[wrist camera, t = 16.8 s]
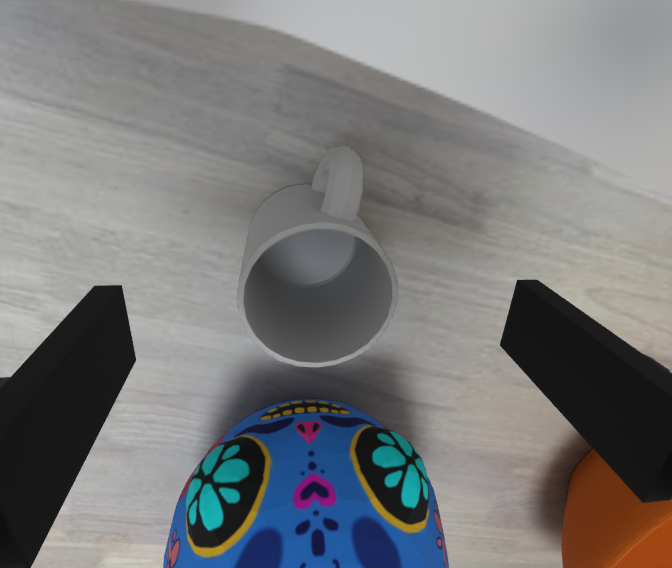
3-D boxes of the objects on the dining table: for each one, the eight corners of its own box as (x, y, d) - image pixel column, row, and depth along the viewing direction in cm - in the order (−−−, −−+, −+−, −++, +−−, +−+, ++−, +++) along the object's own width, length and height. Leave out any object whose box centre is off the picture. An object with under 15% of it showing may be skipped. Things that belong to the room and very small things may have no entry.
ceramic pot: (414, 348, 31) (525, 541, 17) (393, 505, 38) (458, 728, 25) (176, 360, 28) (89, 597, 15) (202, 526, 36) (159, 785, 22)
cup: (237, 275, 26) (221, 353, 18) (274, 118, 23) (275, 128, 15) (340, 298, 28) (367, 378, 20) (390, 156, 25) (447, 184, 17)
